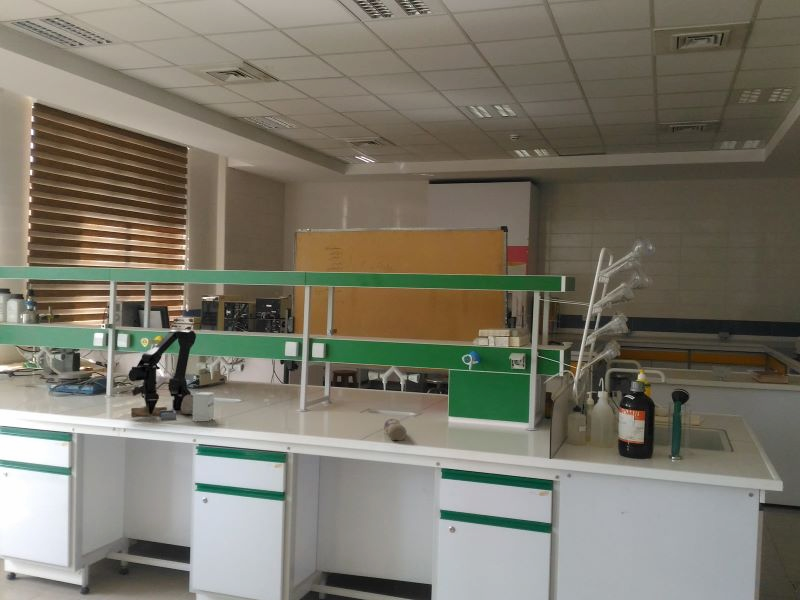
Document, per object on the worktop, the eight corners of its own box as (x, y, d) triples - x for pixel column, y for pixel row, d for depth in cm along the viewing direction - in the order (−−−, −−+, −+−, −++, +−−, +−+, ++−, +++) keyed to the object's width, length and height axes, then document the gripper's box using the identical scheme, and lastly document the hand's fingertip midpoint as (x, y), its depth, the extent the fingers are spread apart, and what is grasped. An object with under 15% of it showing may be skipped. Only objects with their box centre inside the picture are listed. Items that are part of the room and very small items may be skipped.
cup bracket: (173, 416, 346) (173, 410, 346) (176, 419, 339) (176, 412, 339) (159, 417, 343) (159, 410, 343) (161, 419, 336) (161, 413, 336)
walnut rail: (166, 414, 353) (167, 405, 353) (166, 415, 350) (167, 407, 350) (131, 415, 348) (131, 406, 348) (131, 416, 345) (131, 408, 345)
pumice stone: (213, 414, 353) (213, 394, 353) (204, 417, 346) (205, 396, 346) (186, 412, 358) (186, 392, 357) (177, 414, 350) (177, 394, 350)
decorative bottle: (407, 441, 302) (407, 425, 302) (388, 441, 301) (389, 425, 301) (398, 429, 327) (398, 414, 327) (381, 429, 326) (381, 414, 326)
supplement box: (207, 422, 333) (207, 394, 333) (192, 421, 334) (192, 393, 334) (214, 419, 340) (214, 392, 340) (199, 418, 342) (200, 391, 341)
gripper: (129, 377, 354) (129, 409, 354) (133, 382, 337) (133, 416, 337) (154, 376, 358) (153, 408, 359) (159, 381, 342) (158, 414, 342)
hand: (149, 412), depth 349 cm, fingers open, 9 cm apart
